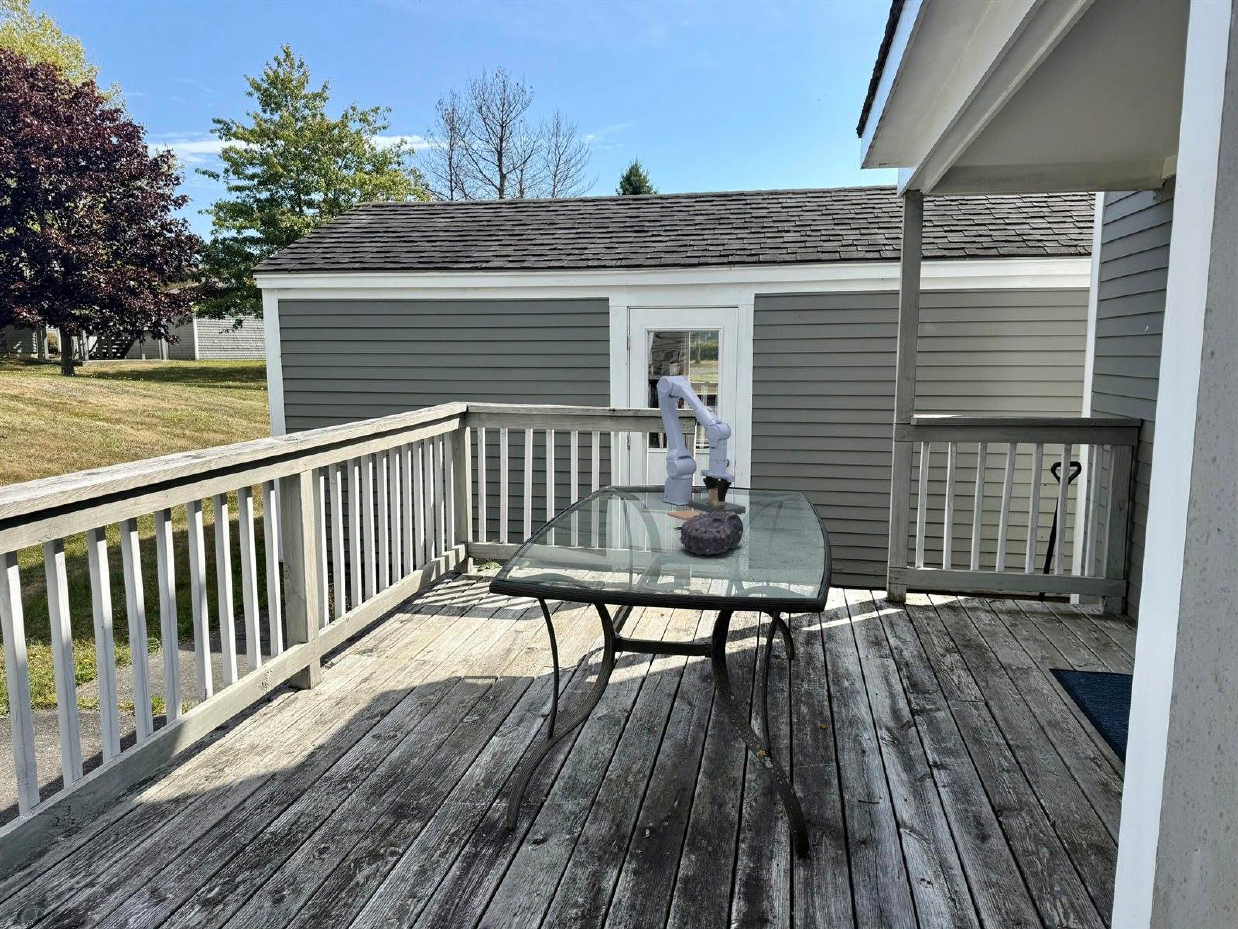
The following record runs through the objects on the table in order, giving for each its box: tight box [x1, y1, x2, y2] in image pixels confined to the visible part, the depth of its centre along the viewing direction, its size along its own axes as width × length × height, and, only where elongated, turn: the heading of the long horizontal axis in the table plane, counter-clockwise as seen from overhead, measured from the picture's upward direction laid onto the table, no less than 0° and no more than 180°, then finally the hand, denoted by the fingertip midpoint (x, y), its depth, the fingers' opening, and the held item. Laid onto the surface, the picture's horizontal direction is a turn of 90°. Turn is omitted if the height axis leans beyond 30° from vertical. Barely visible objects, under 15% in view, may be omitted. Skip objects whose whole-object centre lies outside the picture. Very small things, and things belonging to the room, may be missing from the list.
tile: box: [666, 509, 701, 521], centre depth 275 cm, size 9×9×1 cm
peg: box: [707, 487, 726, 506], centre depth 283 cm, size 4×4×7 cm
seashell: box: [678, 511, 744, 556], centre depth 232 cm, size 20×13×15 cm
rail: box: [688, 497, 747, 515], centre depth 284 cm, size 18×9×2 cm, turn 36°
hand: (716, 500), depth 283 cm, fingers closed on peg, 4 cm apart
